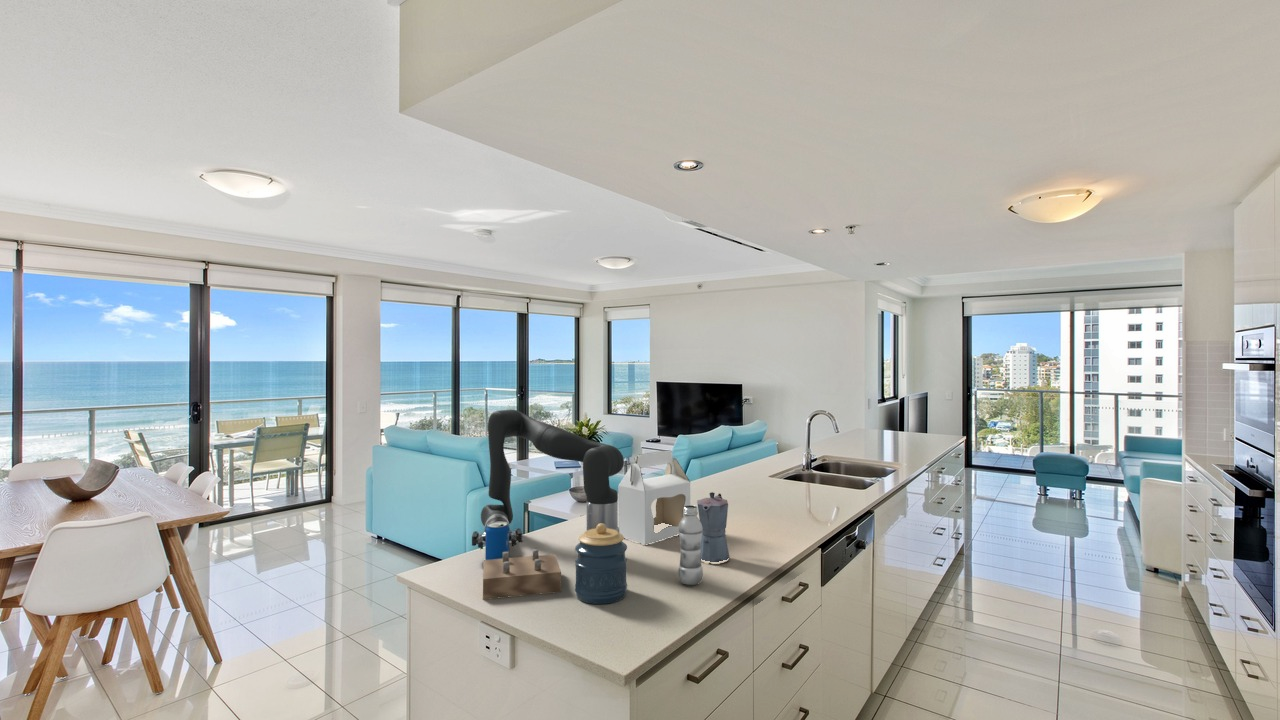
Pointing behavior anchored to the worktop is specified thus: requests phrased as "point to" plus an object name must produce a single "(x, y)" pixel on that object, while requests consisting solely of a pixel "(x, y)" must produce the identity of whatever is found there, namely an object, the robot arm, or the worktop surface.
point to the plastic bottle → (690, 547)
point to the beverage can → (496, 540)
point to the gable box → (652, 498)
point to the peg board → (521, 575)
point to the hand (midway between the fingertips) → (497, 544)
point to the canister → (601, 566)
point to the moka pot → (713, 528)
